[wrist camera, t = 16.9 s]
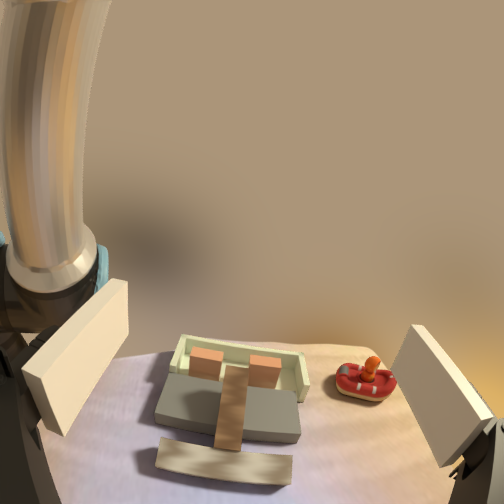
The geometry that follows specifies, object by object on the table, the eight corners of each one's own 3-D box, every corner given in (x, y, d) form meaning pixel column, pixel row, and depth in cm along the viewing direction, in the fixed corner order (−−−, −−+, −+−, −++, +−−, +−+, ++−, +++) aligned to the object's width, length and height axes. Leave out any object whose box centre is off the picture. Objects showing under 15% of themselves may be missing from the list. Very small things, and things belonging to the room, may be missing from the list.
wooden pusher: (154, 465, 26) (179, 356, 38) (157, 468, 28) (181, 366, 40) (291, 483, 26) (294, 373, 39) (285, 485, 28) (289, 383, 41)
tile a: (189, 355, 43) (192, 346, 45) (188, 378, 44) (191, 369, 47) (222, 361, 43) (223, 351, 45) (218, 384, 44) (220, 374, 47)
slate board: (155, 423, 35) (154, 412, 34) (169, 382, 43) (169, 371, 42) (296, 443, 35) (301, 433, 34) (291, 401, 44) (295, 391, 43)
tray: (169, 382, 43) (169, 364, 42) (180, 351, 52) (181, 333, 50) (303, 402, 44) (310, 385, 43) (297, 368, 52) (303, 352, 51)
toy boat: (389, 408, 43) (407, 377, 41) (330, 395, 46) (345, 363, 44) (387, 383, 50) (403, 353, 48) (334, 370, 53) (347, 339, 51)
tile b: (249, 363, 44) (250, 354, 46) (244, 386, 45) (245, 376, 47) (281, 367, 44) (280, 358, 46) (274, 389, 45) (274, 380, 48)
